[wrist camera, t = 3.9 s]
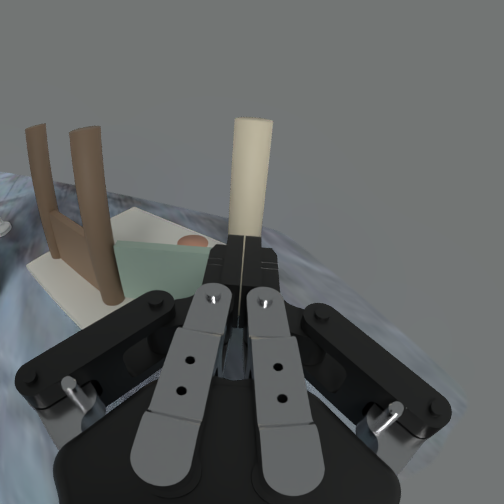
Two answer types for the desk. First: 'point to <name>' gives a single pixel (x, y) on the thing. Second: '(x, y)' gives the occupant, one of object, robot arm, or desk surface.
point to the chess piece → (4, 227)
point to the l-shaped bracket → (194, 257)
